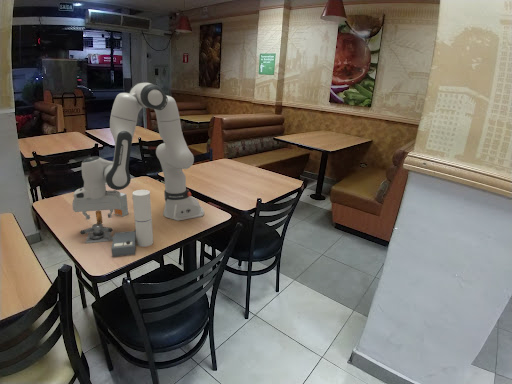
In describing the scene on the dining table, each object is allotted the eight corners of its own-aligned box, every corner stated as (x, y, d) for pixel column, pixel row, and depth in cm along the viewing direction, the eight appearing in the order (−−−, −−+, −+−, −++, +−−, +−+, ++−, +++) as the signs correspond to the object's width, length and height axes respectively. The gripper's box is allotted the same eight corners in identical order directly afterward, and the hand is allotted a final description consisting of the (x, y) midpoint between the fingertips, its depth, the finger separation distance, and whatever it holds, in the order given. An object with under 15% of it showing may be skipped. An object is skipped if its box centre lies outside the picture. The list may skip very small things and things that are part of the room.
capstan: (115, 227, 151) (113, 209, 147) (113, 238, 140) (111, 220, 137) (85, 229, 146) (83, 211, 143) (81, 242, 136) (78, 222, 132)
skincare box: (114, 214, 164) (111, 194, 160) (119, 211, 168) (117, 191, 164) (123, 216, 162) (120, 196, 158) (128, 213, 166) (126, 193, 162)
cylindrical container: (133, 244, 138) (128, 193, 129) (144, 237, 144) (140, 188, 135) (146, 248, 135) (142, 196, 126) (156, 241, 142) (153, 191, 133)
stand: (136, 228, 152) (135, 218, 149) (135, 254, 130) (134, 242, 128) (88, 232, 145) (87, 222, 143) (78, 260, 124) (76, 248, 122)
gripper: (120, 187, 146) (123, 213, 151) (72, 190, 140) (76, 217, 145) (119, 192, 141) (122, 219, 146) (69, 195, 134) (74, 222, 139)
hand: (99, 218), depth 145 cm, fingers open, 8 cm apart
